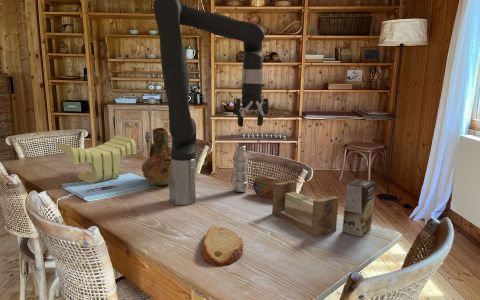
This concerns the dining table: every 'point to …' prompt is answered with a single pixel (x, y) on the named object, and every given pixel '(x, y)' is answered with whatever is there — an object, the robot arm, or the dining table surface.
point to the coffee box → (358, 207)
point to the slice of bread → (221, 246)
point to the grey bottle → (240, 169)
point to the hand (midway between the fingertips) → (250, 126)
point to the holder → (321, 216)
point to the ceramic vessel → (158, 159)
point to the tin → (265, 186)
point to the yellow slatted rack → (101, 157)
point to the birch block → (299, 207)
